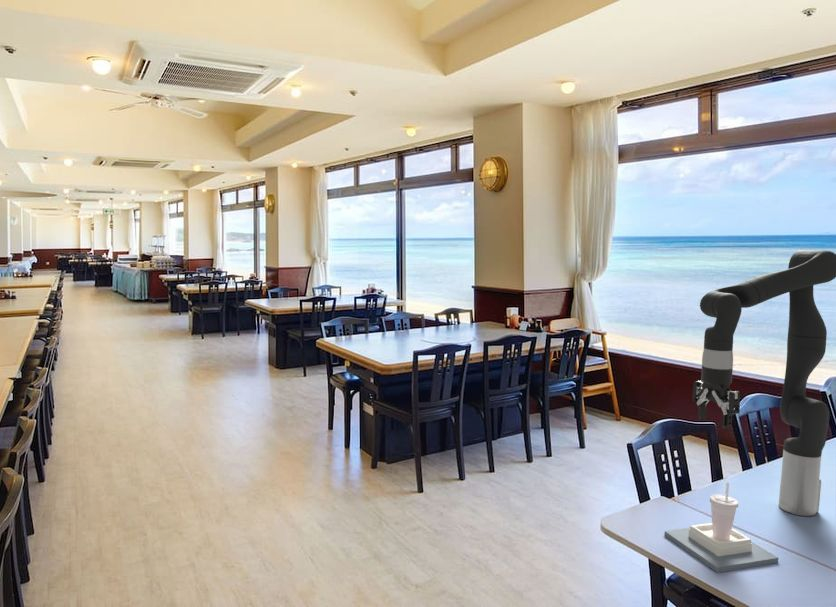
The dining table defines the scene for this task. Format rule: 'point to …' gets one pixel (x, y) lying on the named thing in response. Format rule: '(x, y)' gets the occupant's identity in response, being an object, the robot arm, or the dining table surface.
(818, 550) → the dining table surface
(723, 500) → the smoothie
